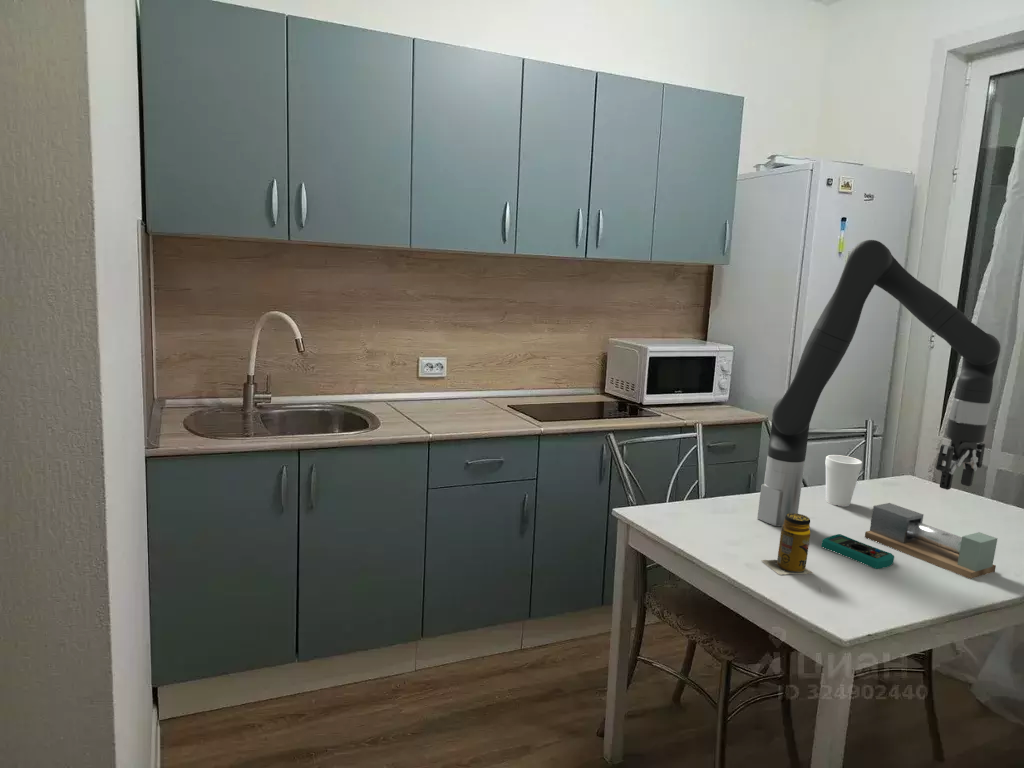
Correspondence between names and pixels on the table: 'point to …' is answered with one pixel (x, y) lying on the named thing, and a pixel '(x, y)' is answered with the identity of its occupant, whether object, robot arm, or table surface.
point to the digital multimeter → (858, 551)
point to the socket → (977, 551)
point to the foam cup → (841, 478)
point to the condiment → (792, 546)
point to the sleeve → (893, 522)
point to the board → (930, 555)
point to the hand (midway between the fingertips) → (955, 486)
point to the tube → (934, 536)
